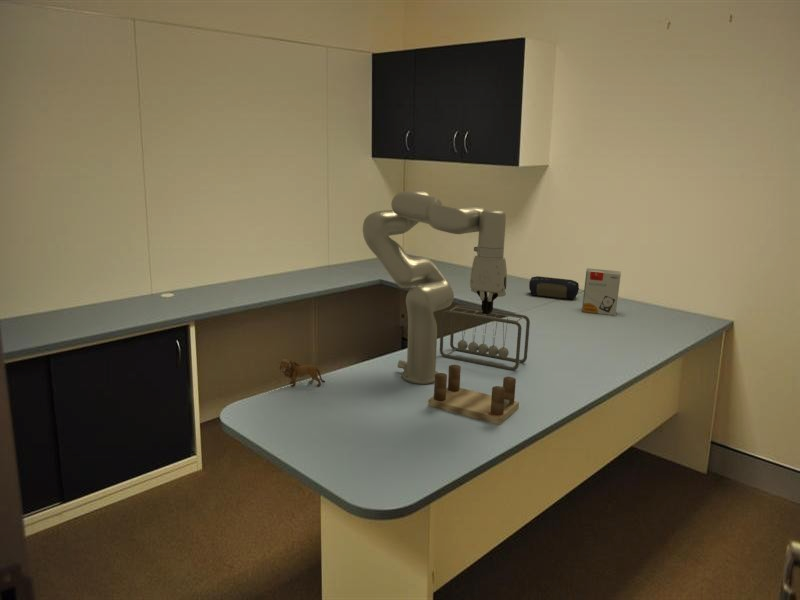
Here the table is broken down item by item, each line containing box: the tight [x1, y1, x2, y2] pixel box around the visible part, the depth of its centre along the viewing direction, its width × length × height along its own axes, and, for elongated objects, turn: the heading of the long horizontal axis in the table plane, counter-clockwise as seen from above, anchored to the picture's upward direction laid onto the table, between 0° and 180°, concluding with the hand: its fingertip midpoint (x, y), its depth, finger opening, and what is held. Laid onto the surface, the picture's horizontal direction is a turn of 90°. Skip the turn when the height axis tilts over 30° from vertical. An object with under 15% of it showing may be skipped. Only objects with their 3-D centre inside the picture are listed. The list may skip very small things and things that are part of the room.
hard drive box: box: [581, 267, 622, 316], centre depth 304 cm, size 16×8×20 cm, turn 73°
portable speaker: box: [528, 275, 580, 300], centre depth 333 cm, size 25×10×10 cm, turn 67°
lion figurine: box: [278, 358, 326, 388], centre depth 205 cm, size 15×5×9 cm, turn 105°
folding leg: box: [491, 376, 517, 414], centre depth 187 cm, size 13×4×7 cm, turn 151°
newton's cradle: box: [439, 304, 531, 371], centre depth 233 cm, size 30×10×18 cm, turn 62°
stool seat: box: [427, 364, 520, 425], centre depth 191 cm, size 23×14×10 cm, turn 58°
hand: (486, 313), depth 193 cm, fingers closed
